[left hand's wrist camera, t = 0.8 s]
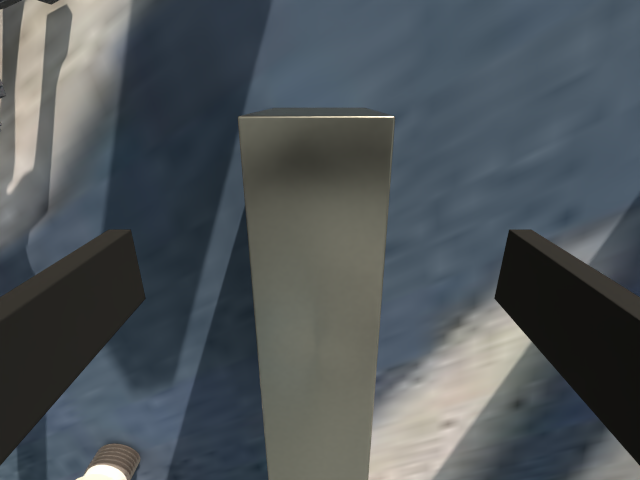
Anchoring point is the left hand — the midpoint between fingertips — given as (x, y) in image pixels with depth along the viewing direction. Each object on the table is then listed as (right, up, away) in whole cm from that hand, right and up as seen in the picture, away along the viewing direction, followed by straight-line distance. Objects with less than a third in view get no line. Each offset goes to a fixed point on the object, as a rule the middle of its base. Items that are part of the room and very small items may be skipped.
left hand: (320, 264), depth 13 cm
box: (0, -1, +15) cm, 15 cm away
